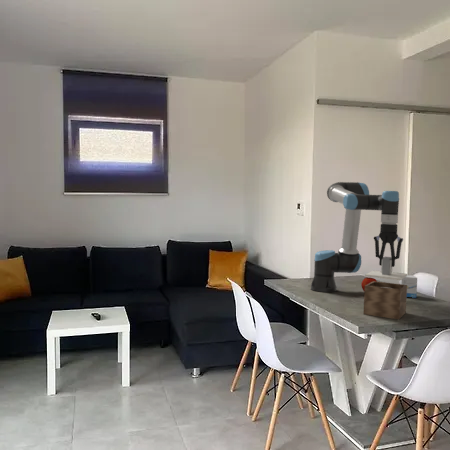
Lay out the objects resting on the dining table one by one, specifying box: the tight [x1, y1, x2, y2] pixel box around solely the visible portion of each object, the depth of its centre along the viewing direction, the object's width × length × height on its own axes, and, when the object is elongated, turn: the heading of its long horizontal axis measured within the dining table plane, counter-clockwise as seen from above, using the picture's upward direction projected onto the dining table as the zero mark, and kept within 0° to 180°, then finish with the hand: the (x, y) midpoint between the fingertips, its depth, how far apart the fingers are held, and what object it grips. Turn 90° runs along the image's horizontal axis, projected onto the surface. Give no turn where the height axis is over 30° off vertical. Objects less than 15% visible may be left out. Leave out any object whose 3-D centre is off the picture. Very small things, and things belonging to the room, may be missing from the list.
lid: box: [364, 256, 408, 281], centre depth 222 cm, size 16×16×9 cm
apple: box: [360, 277, 378, 293], centre depth 264 cm, size 9×8×11 cm
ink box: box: [398, 274, 418, 299], centre depth 267 cm, size 8×8×12 cm
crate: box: [363, 280, 407, 320], centre depth 223 cm, size 16×16×14 cm
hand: (386, 272), depth 223 cm, fingers closed on lid, 3 cm apart
